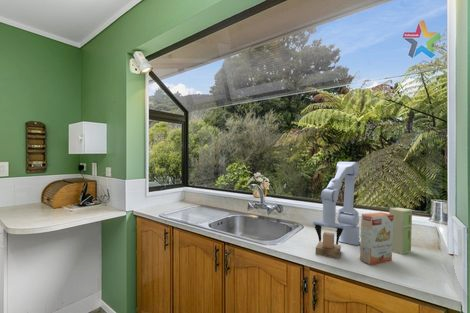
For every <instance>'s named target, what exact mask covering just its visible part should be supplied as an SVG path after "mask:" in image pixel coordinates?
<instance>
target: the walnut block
mask: <svg viewBox="0 0 470 313" xmlns="http://www.w3.org/2000/svg"><path fill="white" fill-rule="evenodd" d="M341 248H342V247H341V244H338V245H336V243H334V247H333V249H332V248H326V247H323V241H321V242H320V241H319V240H318V243H317V244H316V246H315V255H319V256H324V257H328V258H333V259H339V258H340V255H341Z"/></svg>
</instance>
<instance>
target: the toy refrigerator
mask: <svg viewBox="0 0 470 313" xmlns="http://www.w3.org/2000/svg"><path fill="white" fill-rule="evenodd" d="M388 212H389V213H388V214H392V215H394V218H393V242H392V252H394V253H397V254H400V255H406V254H409V253H411V252H412V231H413V230H412V228H413V227H412V222H413V221H412V220H413V209H411V208H410V209H409V208H404V207H391V208H389V211H388Z"/></svg>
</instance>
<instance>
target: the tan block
mask: <svg viewBox="0 0 470 313" xmlns="http://www.w3.org/2000/svg"><path fill="white" fill-rule="evenodd" d="M322 242H323V247H326V248H332V249H333V247H334V244H335V233H334V232H329V231H324V232H323V234H322Z"/></svg>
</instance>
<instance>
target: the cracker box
mask: <svg viewBox="0 0 470 313" xmlns="http://www.w3.org/2000/svg"><path fill="white" fill-rule="evenodd" d="M393 218H394V215H392V214H389V213H387V212H382V211H381V212H372V213H371V212H370V213H362V214H361V220H360V222H361V224H360V225H361V226H360V250H359V251H360V252H359V253H360V255H359V260H360V262H361V261H362V262H364V263H365V264H368V265H370V266H372V265H376V264H382V263H387V262H391V261H393V251H392V242H393Z"/></svg>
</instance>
